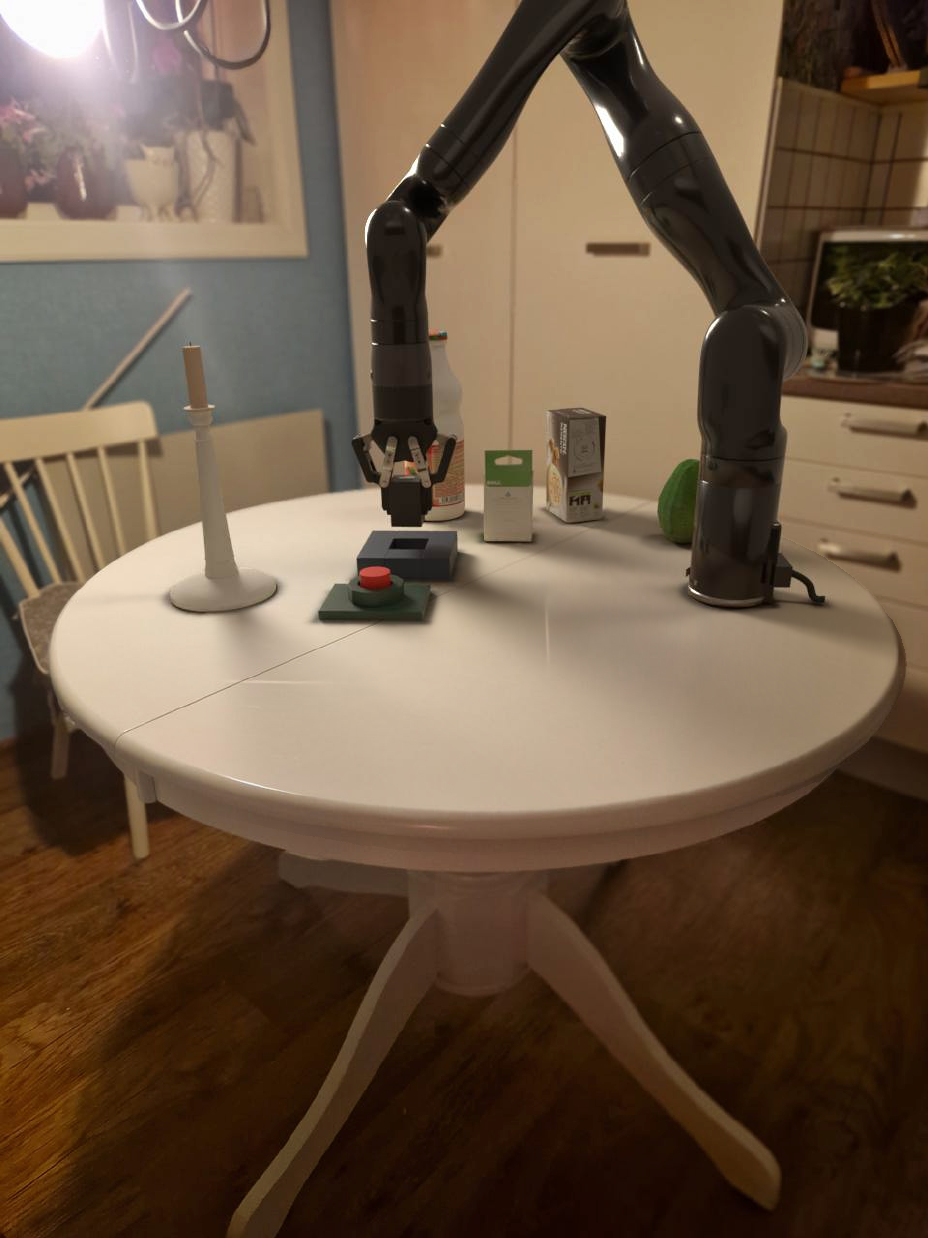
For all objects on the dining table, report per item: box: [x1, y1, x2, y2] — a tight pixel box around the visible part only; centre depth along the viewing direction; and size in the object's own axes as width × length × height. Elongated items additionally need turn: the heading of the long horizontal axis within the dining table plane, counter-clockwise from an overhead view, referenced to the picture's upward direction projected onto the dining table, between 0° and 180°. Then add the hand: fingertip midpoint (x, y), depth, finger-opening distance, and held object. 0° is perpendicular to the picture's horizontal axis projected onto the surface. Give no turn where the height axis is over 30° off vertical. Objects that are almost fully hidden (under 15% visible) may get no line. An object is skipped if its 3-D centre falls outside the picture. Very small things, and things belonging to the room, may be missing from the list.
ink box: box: [483, 449, 534, 542], centre depth 124 cm, size 7×4×13 cm, turn 84°
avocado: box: [656, 458, 700, 545], centre depth 122 cm, size 8×8×12 cm
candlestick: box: [169, 341, 277, 613], centre depth 102 cm, size 13×13×30 cm
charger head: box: [389, 474, 426, 528], centre depth 113 cm, size 4×4×6 cm
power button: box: [359, 567, 391, 589], centre depth 102 cm, size 4×4×2 cm
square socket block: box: [356, 530, 459, 581], centre depth 116 cm, size 12×12×3 cm
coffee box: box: [545, 407, 607, 524], centre depth 135 cm, size 9×6×16 cm
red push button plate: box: [317, 574, 432, 622], centre depth 102 cm, size 12×9×3 cm
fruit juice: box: [404, 330, 466, 522], centre depth 134 cm, size 9×9×28 cm
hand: (407, 512), depth 114 cm, fingers closed on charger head, 4 cm apart
